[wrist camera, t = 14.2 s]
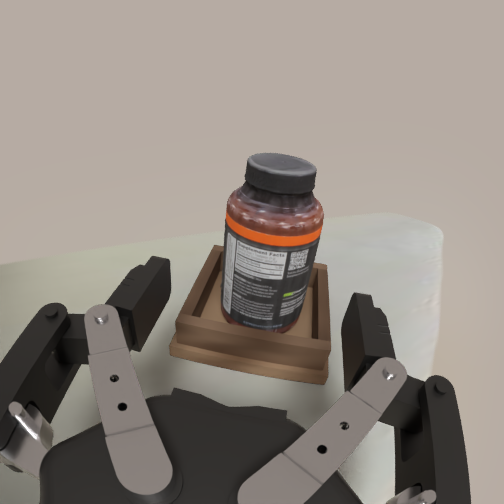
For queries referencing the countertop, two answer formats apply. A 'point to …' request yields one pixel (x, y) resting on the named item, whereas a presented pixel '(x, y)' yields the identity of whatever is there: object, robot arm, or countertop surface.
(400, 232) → the countertop surface
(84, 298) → the countertop surface
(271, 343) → the square wooden tray
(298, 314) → the supplement bottle
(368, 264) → the countertop surface
